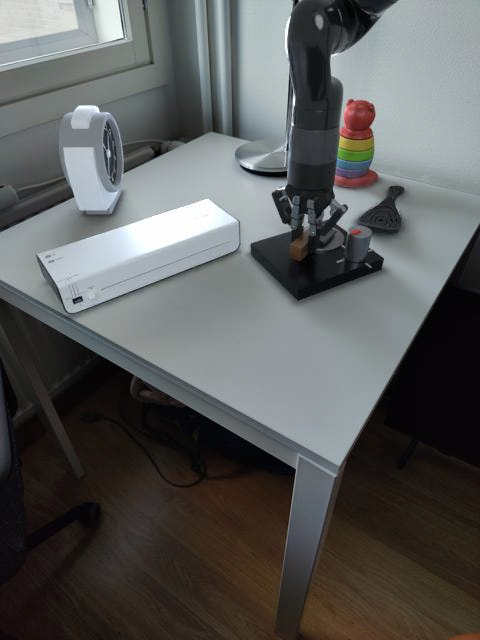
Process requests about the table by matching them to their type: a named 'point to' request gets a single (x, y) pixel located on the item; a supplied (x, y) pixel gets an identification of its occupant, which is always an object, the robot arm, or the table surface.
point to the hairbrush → (384, 213)
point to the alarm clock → (92, 158)
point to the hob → (311, 265)
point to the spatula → (306, 244)
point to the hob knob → (357, 243)
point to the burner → (330, 241)
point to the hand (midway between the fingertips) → (304, 248)
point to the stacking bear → (356, 146)
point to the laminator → (138, 254)
